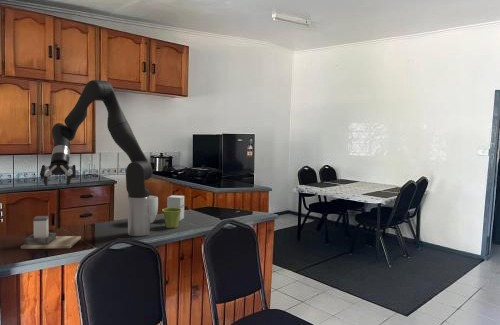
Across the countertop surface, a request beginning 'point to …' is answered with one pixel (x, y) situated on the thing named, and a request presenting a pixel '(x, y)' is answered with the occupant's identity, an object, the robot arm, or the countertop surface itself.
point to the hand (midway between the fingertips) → (56, 184)
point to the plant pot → (171, 217)
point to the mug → (153, 207)
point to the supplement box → (176, 204)
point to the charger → (41, 227)
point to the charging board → (50, 242)
